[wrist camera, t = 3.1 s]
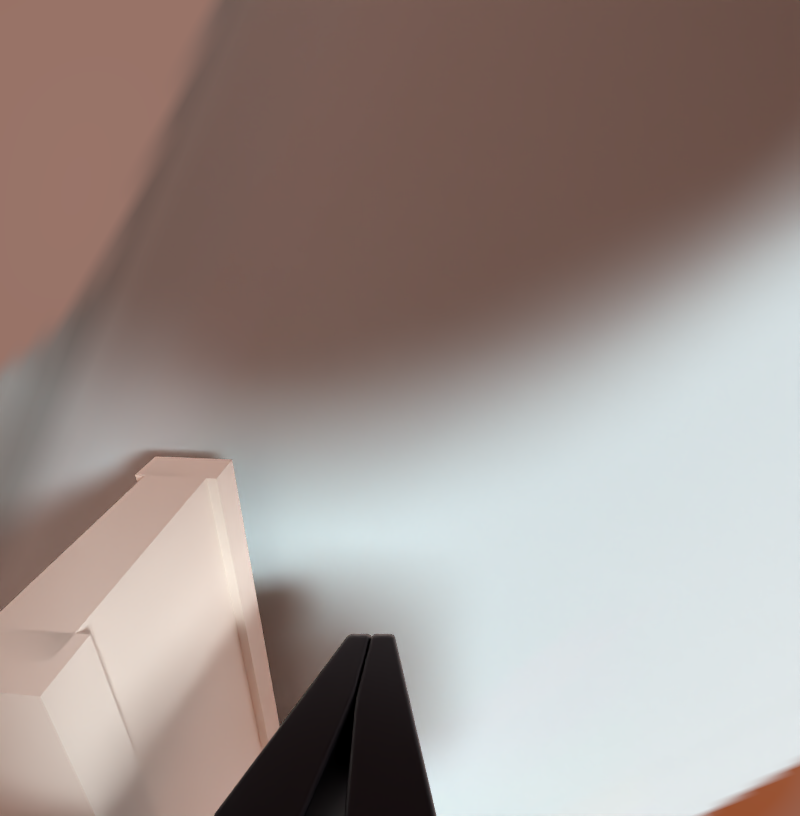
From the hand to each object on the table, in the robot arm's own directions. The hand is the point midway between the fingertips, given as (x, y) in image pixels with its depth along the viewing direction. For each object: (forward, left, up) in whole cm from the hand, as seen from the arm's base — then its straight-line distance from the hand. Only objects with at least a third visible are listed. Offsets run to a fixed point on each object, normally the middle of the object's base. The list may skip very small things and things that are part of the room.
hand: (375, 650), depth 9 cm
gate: (+5, -1, -2) cm, 6 cm away
